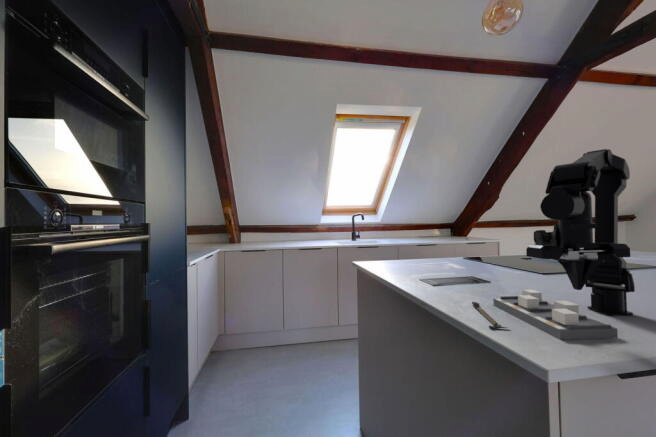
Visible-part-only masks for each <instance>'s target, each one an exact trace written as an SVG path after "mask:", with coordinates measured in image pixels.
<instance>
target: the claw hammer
mask: <svg viewBox="0 0 656 437" xmlns="http://www.w3.org/2000/svg"><path fill="white" fill-rule="evenodd" d="M471 304H472V305H473V308H474V309H475V310H476V311H477V313H479V314H481V315H482V317H483V318H485V319H486V320H487V321H488V322H489V323H491V325H488V328H489V329H490V330H492V331H504V332H505V331H506V332H512V330H511V329H509V328H508V327H505V326H502V325H501V324H499V323H498V321H496V320H495V319H494V318H493V317H492V316H491V315H490V314H488V313H487V312H486V311H485V310H484V309H482V308H481V306H480V303H479V302H477V301H471Z"/></svg>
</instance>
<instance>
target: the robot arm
mask: <svg viewBox="0 0 656 437" xmlns="http://www.w3.org/2000/svg"><path fill="white" fill-rule="evenodd" d="M630 172H631V171H630V167H629V165H628V163H627V160H626V159H625V158H624V157H621V156H618V155H616V154H613V152H612V150H611V149H610V148H609V149H607V148H603V149H597V150H591V151H587V152H585V153H583V154H582V156H581V157H579V158H577V160H575V161H573V162H570V163H565V164H557V165H555V166H554V167H553V168H552V170H551V172H550V175H549V178H548V181H547V184H546V187H545V188H546V189H545V194H546V196H544V198H543V199H542V201H541V203H540V206H539V207H540V211H541V213H542V214H543V215H544V217H546V218H547V219H549V220H550V219H551V220H553V221H558V223H554V224H553V230H552V231H546V230H545V229H537V230H535V231H533V241H534V243H533V244H529V245H528V246H527V247H526V257H530V258H536V259H540V260H553V261H557V262H558V263H559V264H560V265H561V266H562V268H563V270H564V271H565V273H566V275H567V277H568V279H569V281H570V283H571V286H572V287H573V290H577V291H581V290H583V288H584V286H585V288H591V292H590V305H589V306H587V309H589V310H592V311H595V312H598V313H601V314H604V315H606V316H631V315H632V316H633V315H634V312H632V311H629V310H628V303H627V293H634V292H636V288H635V281H634V277H633V274H632V273H631V271H630V269H629V268H627V261H626V260H625V259H624V258H630V257H631V248H630V247H629V245H627V244H626V243H619V241H618V240H619V238H618V236H619V235H618V234H619V231H618V229H619V228H618V225H619V220H618V218H619V212H618V210H619V208H618V207H619V204H618V203H619V196H620V195H621V194H622V193H623V192H624V190H625V189H626V188H627V184H628V183H627V180H630V176H631V175H630ZM589 192H591V193H592V195H594V223H593V206H592V205H593V204H592V203H593V202H592V201H593V200H592V195H591V193H589Z"/></svg>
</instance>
